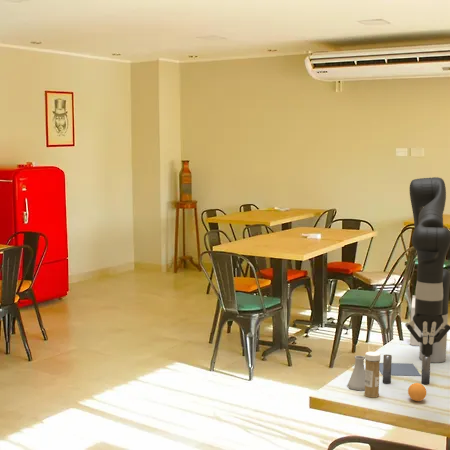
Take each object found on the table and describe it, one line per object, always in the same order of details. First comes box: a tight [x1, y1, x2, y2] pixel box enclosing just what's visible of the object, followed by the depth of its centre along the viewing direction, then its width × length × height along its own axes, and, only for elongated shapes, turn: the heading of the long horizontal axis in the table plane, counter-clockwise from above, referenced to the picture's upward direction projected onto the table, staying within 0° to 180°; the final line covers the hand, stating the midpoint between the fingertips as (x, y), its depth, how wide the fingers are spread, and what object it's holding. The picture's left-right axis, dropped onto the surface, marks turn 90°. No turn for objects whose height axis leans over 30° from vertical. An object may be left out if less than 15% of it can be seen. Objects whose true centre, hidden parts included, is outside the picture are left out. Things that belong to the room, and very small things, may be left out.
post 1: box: [382, 354, 393, 385], centre depth 232 cm, size 3×3×9 cm
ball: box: [407, 382, 427, 402], centre depth 216 cm, size 5×5×5 cm
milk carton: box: [409, 294, 420, 347], centre depth 277 cm, size 7×7×19 cm
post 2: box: [420, 356, 432, 386], centre depth 231 cm, size 3×3×9 cm
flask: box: [346, 355, 365, 391], centre depth 227 cm, size 7×7×10 cm
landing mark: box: [379, 362, 422, 377], centre depth 246 cm, size 13×13×1 cm
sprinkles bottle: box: [364, 351, 381, 398], centre depth 219 cm, size 5×5×13 cm
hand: (426, 356), depth 205 cm, fingers closed
